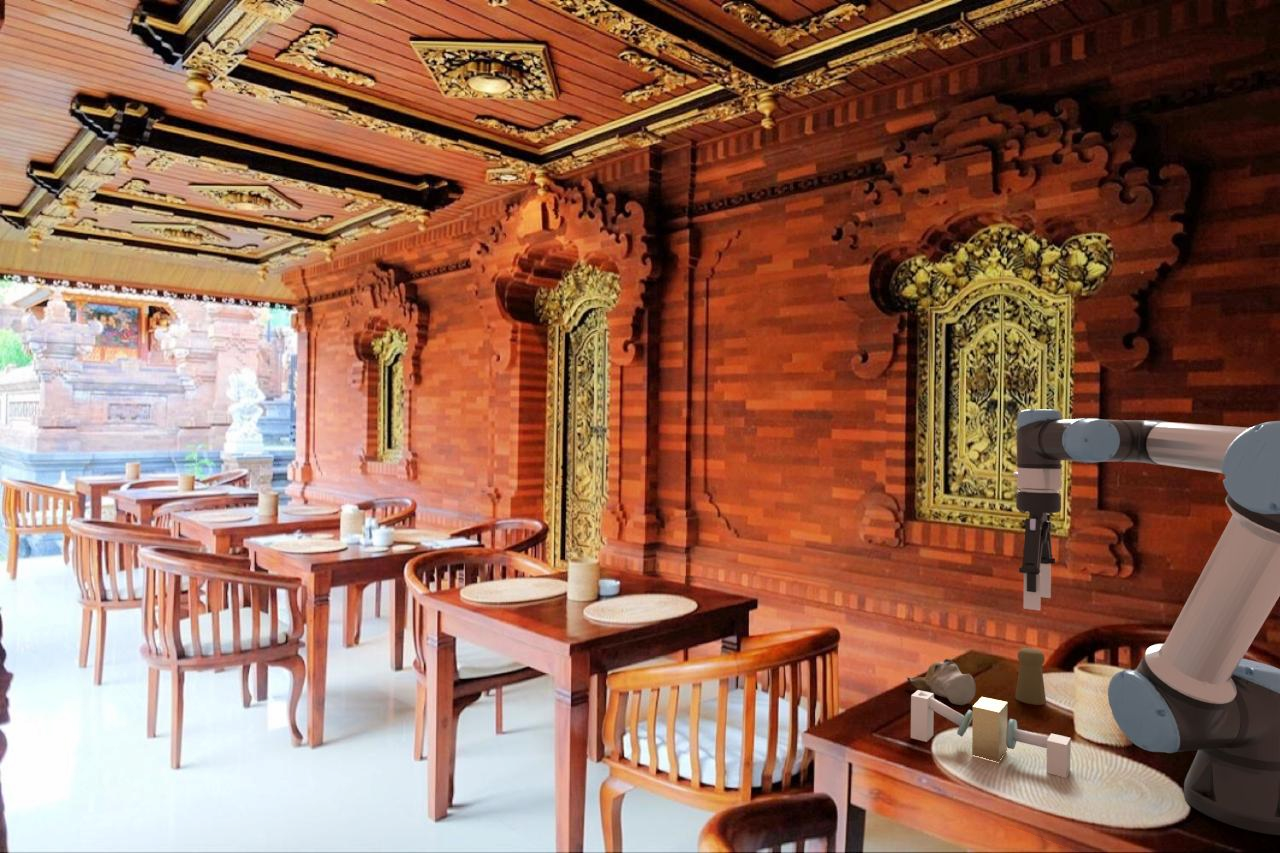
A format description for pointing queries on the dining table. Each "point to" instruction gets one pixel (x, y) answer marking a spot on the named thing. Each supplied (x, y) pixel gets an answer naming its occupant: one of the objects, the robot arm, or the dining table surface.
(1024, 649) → the olive pepper shaker
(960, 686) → the ceramic sculpture
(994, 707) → the tan rectangular block
